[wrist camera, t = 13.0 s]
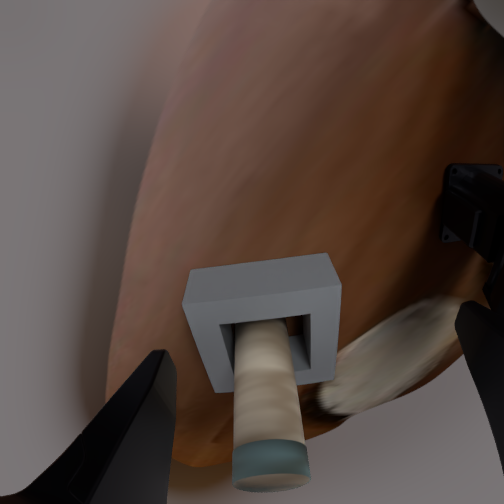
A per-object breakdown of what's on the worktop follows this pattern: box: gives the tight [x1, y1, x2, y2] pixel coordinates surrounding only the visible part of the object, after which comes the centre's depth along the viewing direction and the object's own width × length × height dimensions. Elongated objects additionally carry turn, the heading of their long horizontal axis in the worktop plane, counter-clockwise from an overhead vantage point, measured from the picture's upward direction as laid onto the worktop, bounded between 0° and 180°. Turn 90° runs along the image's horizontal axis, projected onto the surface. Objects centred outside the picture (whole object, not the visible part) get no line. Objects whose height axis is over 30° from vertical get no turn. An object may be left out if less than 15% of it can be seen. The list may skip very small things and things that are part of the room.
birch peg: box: [232, 317, 311, 492], centre depth 18 cm, size 4×4×14 cm
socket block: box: [182, 253, 342, 393], centre depth 22 cm, size 10×10×4 cm
